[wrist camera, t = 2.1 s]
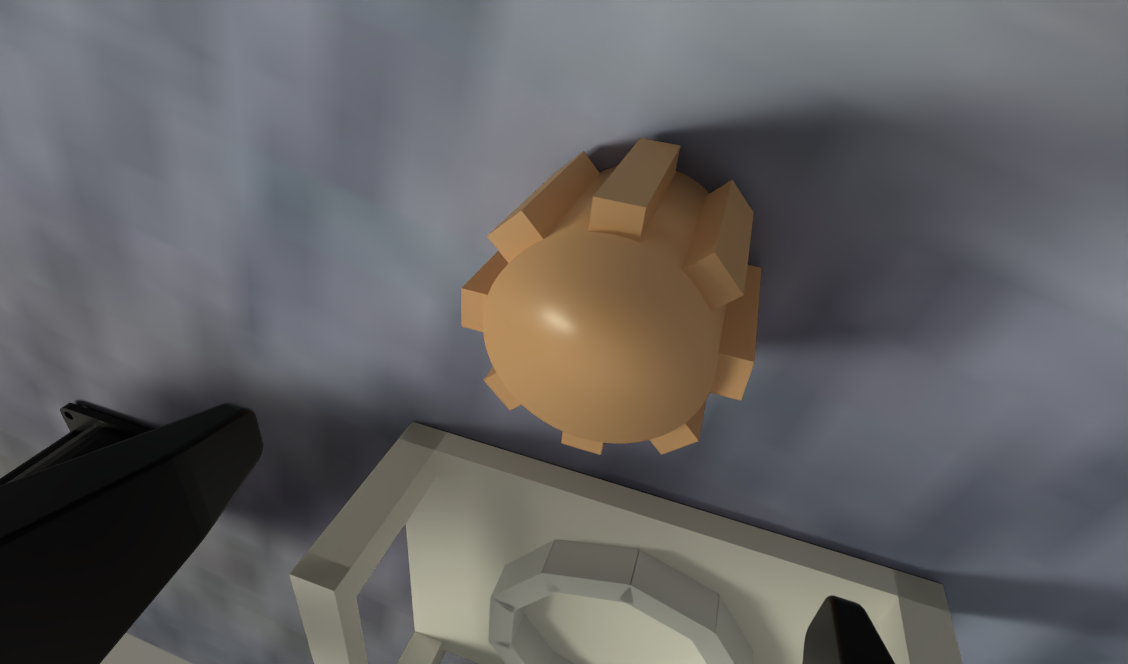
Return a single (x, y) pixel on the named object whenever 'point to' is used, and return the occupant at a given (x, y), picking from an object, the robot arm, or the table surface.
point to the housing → (585, 571)
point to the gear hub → (620, 301)
